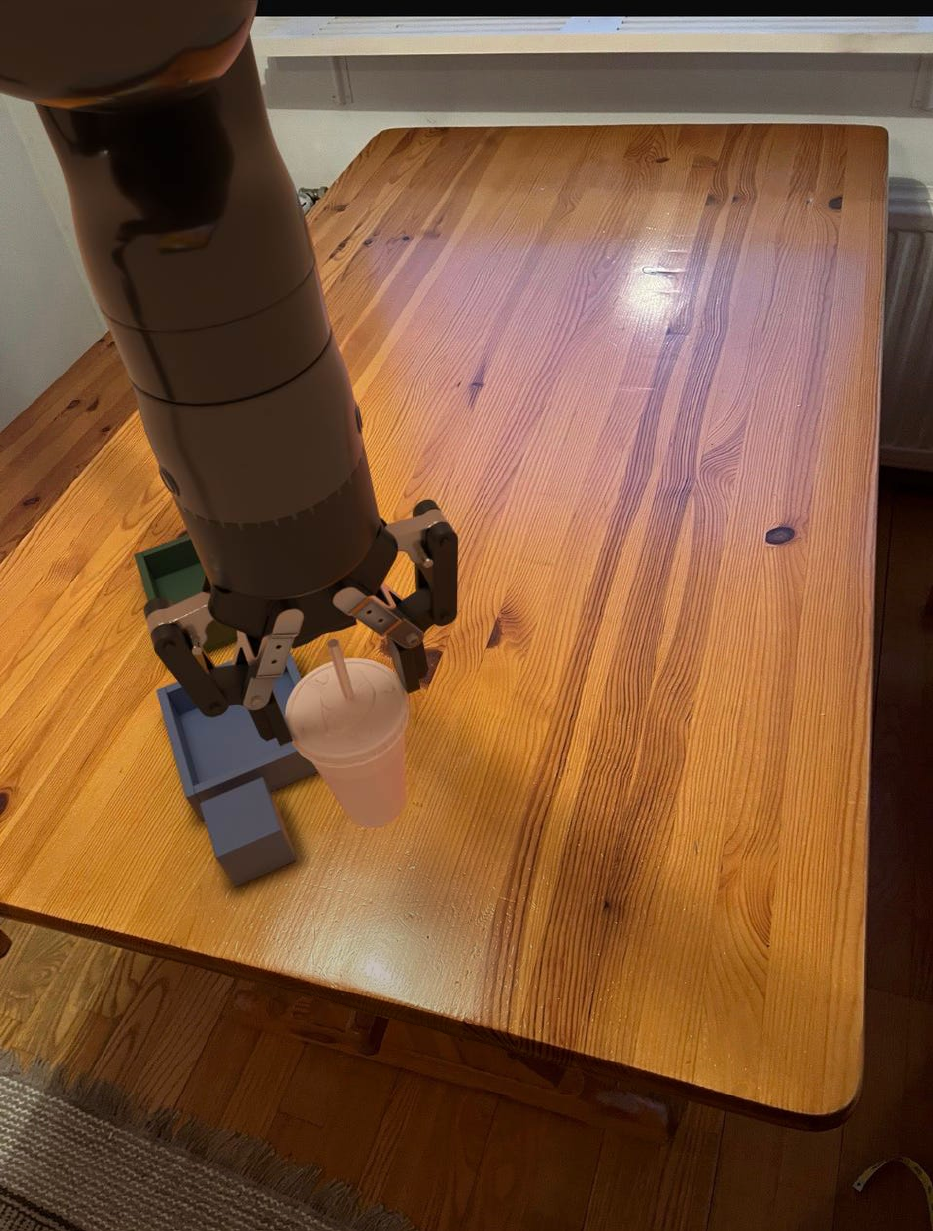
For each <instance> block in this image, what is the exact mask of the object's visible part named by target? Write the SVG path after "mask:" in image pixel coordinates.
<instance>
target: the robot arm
mask: <svg viewBox="0 0 933 1231" xmlns="http://www.w3.org/2000/svg"><path fill="white" fill-rule="evenodd" d="M258 1H259V0H0V94H2V95H4V96H9V97H11V98H15V99H19V100H22V101H26V102H29V103H33V105H34V107H35V109H36V112H37V113H38V117H39V120H40V121H41V124H42V126H43V129H44V131H45V133H46V136H47V138H48V140H49V142H50V145H51V147H52V150H53V152H54V154H55V156H56V159H57V162H58V164H59V167H60V169H61V172H62V175H63V178H64V182H65V185H66V190H67V194H68V199H69V204H70V212H71V218H72V219H71V220H72V224H73V229H74V235H75V239H76V243H77V247H78V250H79V255H80V257H81V261H82V264H83V268H84V271H85V274H86V277H87V279H88V282H89V285H90V287H91V288H90V289H91V290H92V293H93V296H94V298H95V301H96V303H97V304H98V306H99V309H100V311H101V313H102V316H103V319H104V321H105V323H106V326H107V328H108V330H109V332H110V335H111V338H112V340H113V342H114V344H115V347H116V349H117V351H118V353H119V356H120V358H121V360H122V363H123V365H124V368H125V370H126V372H127V375H128V377H129V381H130V383H131V387H132V389H133V392H134V395H135V399H136V403H137V408H138V412H139V417H140V420H141V423H142V427H143V430H144V433H145V436H146V438H147V441H148V444H149V446H150V448H151V451H152V453H153V455H154V457H155V459H156V462H157V464H158V467H157V468H158V473H159V476H160V478H161V480H162V482H163V484H164V485H165V488H167V490H168V492H169V493H170V494H171V496H172V498H173V502H174V504H175V506H176V508H177V510H178V513H179V515H180V517H181V520H182V522H183V524H184V526H185V529H186V531H187V533H188V534H189V536H190V538H191V540H192V543H193V545H194V547H195V550H196V552H197V554H198V557H199V559H200V561H201V563H202V566H203V568H204V570H205V578H204V582H203V585H202V592H201V593H199V594H197V595H194V596H192V597H190V598H188V599H186V600H184V601H181V602H179V603H177V604H175V605H173V604H172V603H171V602H170V601H169V600H168V599H166V598H154V599H152V600H150V601H148V600H147V602H146V603H145V604H144V606H143V609H142V610H143V615H144V618H145V621H146V623H145V624H146V626H147V630H148V633H149V638H150V639H151V643H152V647H153V650H154V653H155V654H156V655H157V656H158V658H159V660H160V661H161V662H162V664H163V665H164V666H165V667H166V669H167V670H168V671H169V672H170V674H171V675H172V676H173V678H174V679H175V681H176V682H177V681H178V682H179V684H180V685H181V686H182V688H183V689H184V690H185V691H186V693H187V694H188V695H189V697H190V698H191V699H192V701H193V702H194V703H195V704H196V706H197V707H198V708H199V710H200V711H201V712H202V713H203V715H205V716H207V717H216V716H219V715H222V714H223V713H225V712H226V710H227V709H228V707H229V706H231V705H242V706H244V707H245V708H246V709H248V711H249V713H250V715H251V718H252V720H253V722H254V724H255V726H256V728H257V730H258V733H259V735H260V737H261V738H262V739H264V740H265V741H270V740H272V739H275V738H277V740H278V743H279V745H280V747H281V746H283V745H285V744H288V743H290V742H293V739H292V736H291V734H290V731H289V729H288V726H287V723H286V721H285V718H284V716H283V713H282V711H281V708H280V706H279V703H278V701H277V698H276V696H275V693H274V691H273V686H274V683H275V680H276V677H282V675H283V673H284V670H285V666H286V663H287V660H288V657H289V654H290V652H292V650H294V649H297V648H300V647H303V646H305V645H308V644H310V643H312V642H314V641H315V640H317V639H318V638H320V637H321V636H323V635H326V634H330V633H336V632H341V631H344V630H346V629H349V628H351V627H355V626H357V625H358V622H357V621H359V622H360V623H362V624H363V625H365V627H367V628H368V629H370V630H372V631H373V632H375V633H376V634H377V635H379V636H380V637H381V638H383V637H386V640H387V644H388V648H389V654H390V657H391V662H392V665H393V668H394V671H395V674H396V675H397V676H398V677H399V679H400V681H401V683H402V685H403V687H404V689H405V692H406V695H410V694H412V693H414V692H417V691H419V690H421V684H420V680H421V679H424V678H427V675H428V672H429V665H428V660H427V655H426V648H425V645H424V644H425V643H424V639H425V634H426V632H427V631H428V630H429V629H430V628H432V627H433V626H437V627H446V626H449V625H450V624H452V623H454V621H455V620H456V619H457V616H458V587H459V586H458V581H459V579H458V576H459V575H458V574H459V573H458V572H459V536H458V535H457V532H456V531H455V529H453V527H452V525H451V524H450V522H449V521H448V519H447V518H446V515H445V514H444V513H443V512H442V510H441V508H440V506H439V505H438V503H437V502H436V501H435V500H433V499H430V498H429V499H428V498H427V499H423V500H421V501H419V502H418V503H417V504H416V505H415V506H414V508H413V510H412V517H409V518H405V519H401V520H397V521H395V522H391V523H387V522H386V520H384V519H383V518H382V517H381V516H380V512H379V507H378V506H379V505H378V502H377V498H376V493H375V486H374V483H373V478H372V474H371V470H370V464H369V460H368V455H367V451H366V446H365V441H364V436H363V428H364V423H363V418H362V413H361V409H360V405H358V402H357V401H356V399H355V395H354V391H353V386H352V382H351V379H350V375H349V371H348V368H347V365H346V363H345V360H344V358H343V356H342V353H341V350H340V348H339V346H338V342H337V340H336V337H335V334H334V331H333V330H334V329H333V327H332V323H331V320H330V316H329V311H328V307H327V303H326V302H327V301H326V298H325V293H324V289H323V284H322V280H321V275H320V270H319V266H318V262H317V257H316V252H315V245H314V241H313V239H312V235H311V230H310V227H309V222H308V220H307V217H306V212H305V210H304V208H303V205H302V202H301V198H300V196H299V194H298V190H297V188H296V185H295V183H294V181H293V179H292V175H291V174H290V171H289V170H288V167H287V165H286V163H285V161H284V159H283V156H282V154H281V152H280V150H279V147H278V144H277V141H276V140H275V137H274V134H273V130H272V127H271V123H270V119H269V115H268V111H267V106H266V102H265V97H264V92H263V87H262V82H261V78H260V73H259V69H258V65H257V64H258V63H257V61H256V54H255V51H254V46H253V41H252V38H251V37H252V36H251V30H252V27H253V25H254V24H253V23H254V21H255V18H256V12H257V7H258ZM399 552H403V553H406V554H407V556H408V557H409V560H410V561H411V562H412V563H413V565H414V566H413V567H414V588H415V591H414V592H412V593H410V594H409V595H408V596H406V597H405V598H404V597H403V596H401V594H399V593H398V592H396V591H395V590H394V589H393V588H391V587H390V586H389V585H388V584H386V582H384V581H385V580H386V578H387V576H388V574H389V572H390V571H391V569H392V567H393V565H394V564H395V561H396V560H397V557H398V554H399ZM213 620H215V621H216V622H218V623H220V624H222V625H224V626H227V627H229V628H232V629H235V630H237V636H238V641H237V642H236V645H235V649H234V653H233V656H232V659H231V660H232V663H231V665H230V666H222V667H216V666H217V665H216V664H215V662H214V661H213V659H212V658H211V657H210V655H209V653H206V651H205V650H204V648H203V647H202V646H203V645H204V644H205V643H206V641H207V638H208V637H207V633H206V628H207V626H208V624H209V623H210V622H212V621H213Z"/></svg>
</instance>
